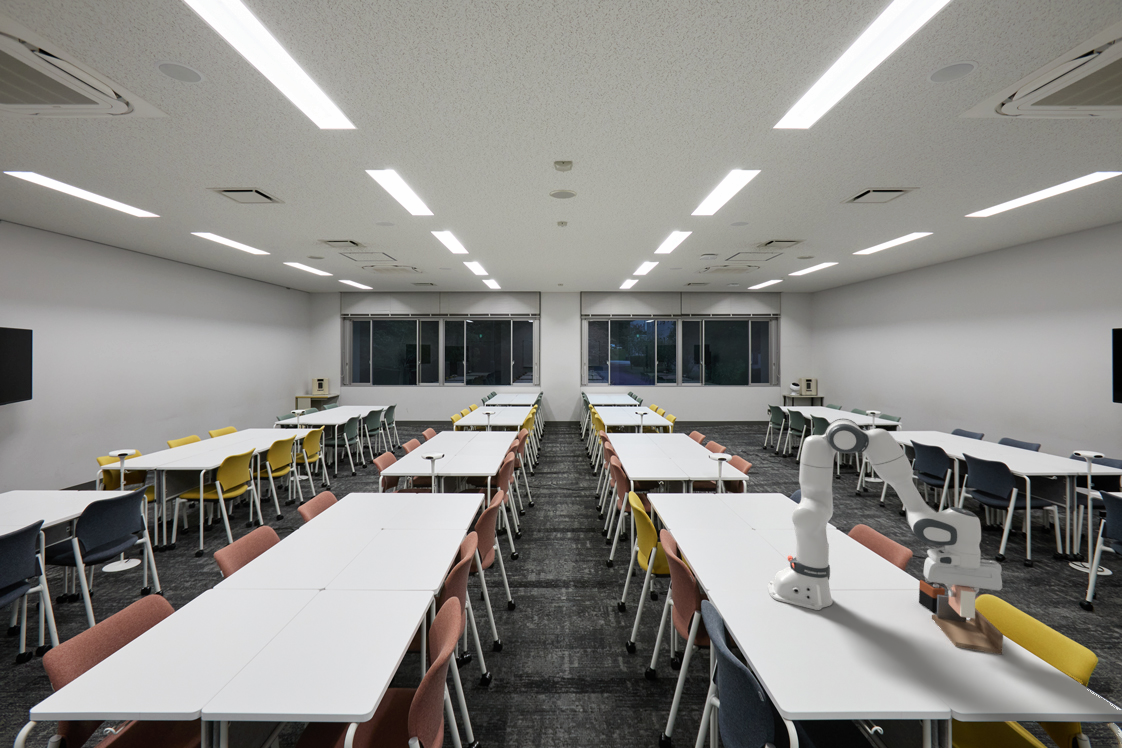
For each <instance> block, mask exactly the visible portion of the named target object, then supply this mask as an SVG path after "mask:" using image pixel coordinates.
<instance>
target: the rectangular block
mask: <svg viewBox="0 0 1122 748" xmlns="http://www.w3.org/2000/svg"><path fill="white" fill-rule="evenodd" d="M951 589H952V590H954V591H955V592H956V597H950V596H949V595H948V596H949V605H950V606H951V607H952V608H953V609H954V610H955V611H956V612H957V613H958V614H959V615H960V616H961V617H966V619H967V618H968V619H970V618H973V619H974V618H975V608H976V595H975V591H974V590H972V588H971V587H967V586H959V585H953V587H951Z"/></svg>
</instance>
